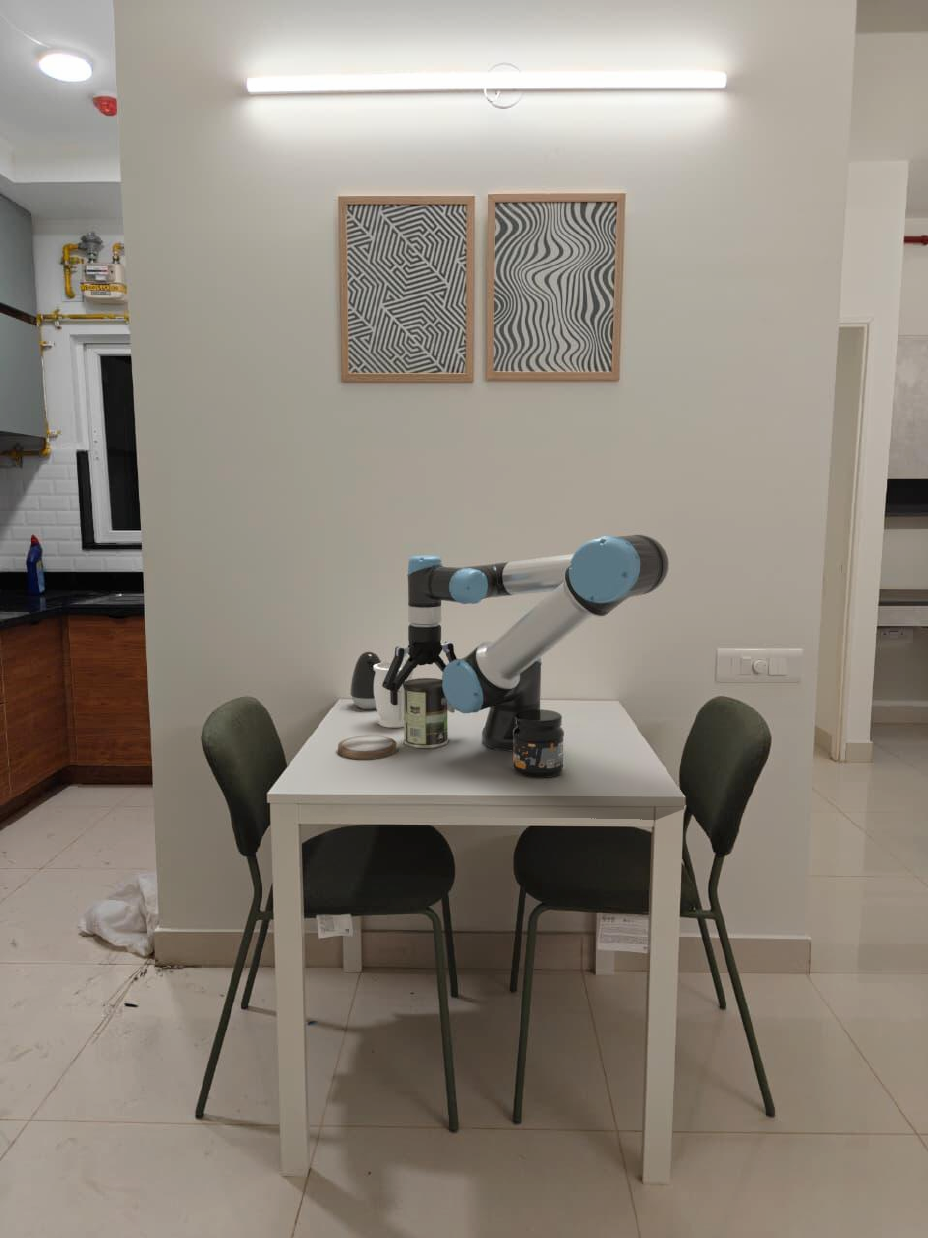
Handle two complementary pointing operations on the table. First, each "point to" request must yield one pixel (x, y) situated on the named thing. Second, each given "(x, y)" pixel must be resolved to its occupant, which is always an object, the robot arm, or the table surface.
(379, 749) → the thin brown ring
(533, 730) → the supplement container
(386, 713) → the jar
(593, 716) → the table surface
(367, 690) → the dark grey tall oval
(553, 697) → the table surface
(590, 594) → the robot arm
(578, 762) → the table surface
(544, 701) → the table surface
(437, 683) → the coffee can
